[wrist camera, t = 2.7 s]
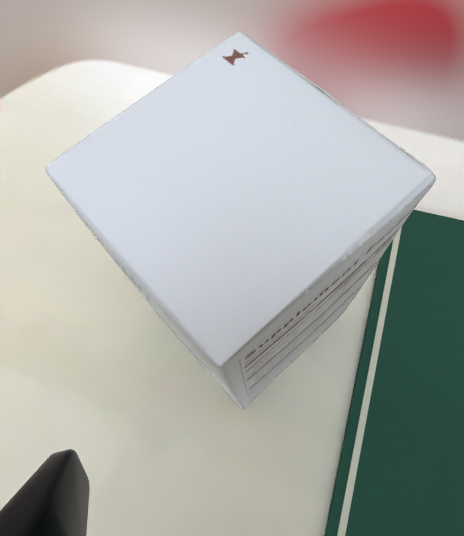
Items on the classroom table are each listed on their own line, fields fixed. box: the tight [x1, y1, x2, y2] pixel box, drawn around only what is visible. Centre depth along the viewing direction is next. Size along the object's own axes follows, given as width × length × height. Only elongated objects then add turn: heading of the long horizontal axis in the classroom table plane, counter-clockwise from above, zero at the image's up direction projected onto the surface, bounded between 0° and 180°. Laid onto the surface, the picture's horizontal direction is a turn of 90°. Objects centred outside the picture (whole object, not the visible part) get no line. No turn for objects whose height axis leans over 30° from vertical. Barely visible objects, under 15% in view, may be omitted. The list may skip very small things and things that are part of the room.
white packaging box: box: [46, 31, 435, 409], centre depth 16 cm, size 7×7×13 cm
